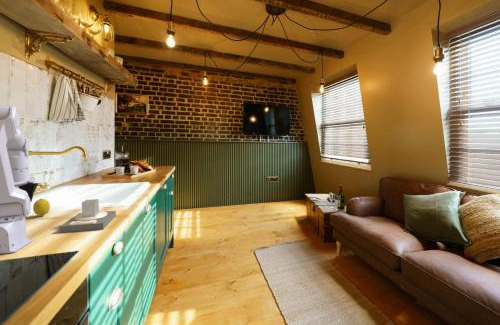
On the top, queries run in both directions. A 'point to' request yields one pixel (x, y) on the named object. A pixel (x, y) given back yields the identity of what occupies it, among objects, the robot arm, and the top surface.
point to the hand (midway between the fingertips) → (21, 204)
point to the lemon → (41, 207)
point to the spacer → (90, 208)
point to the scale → (88, 222)
